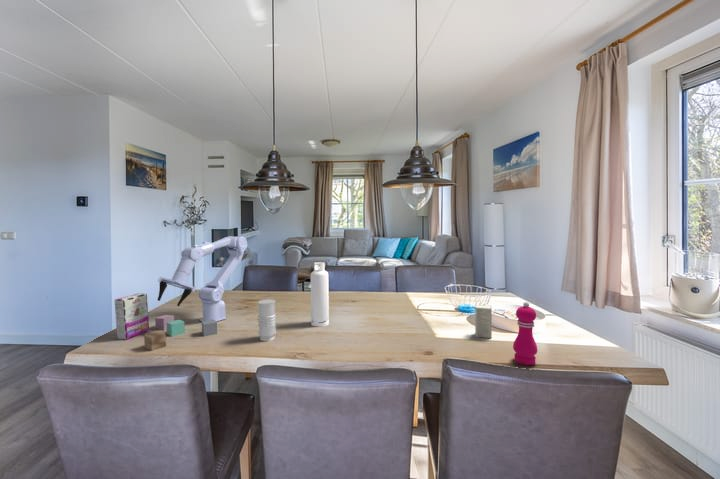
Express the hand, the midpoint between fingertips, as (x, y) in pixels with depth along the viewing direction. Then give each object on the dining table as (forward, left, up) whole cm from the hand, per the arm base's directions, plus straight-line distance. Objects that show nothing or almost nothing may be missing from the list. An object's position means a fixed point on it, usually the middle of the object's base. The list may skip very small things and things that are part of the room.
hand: (168, 303), depth 136 cm
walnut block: (+9, +12, -13) cm, 20 cm away
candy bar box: (+10, -10, -13) cm, 20 cm away
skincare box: (-80, +103, -13) cm, 131 cm away
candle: (-23, +37, -13) cm, 45 cm away
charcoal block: (-11, +13, -13) cm, 21 cm away
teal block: (-2, +2, -13) cm, 13 cm away
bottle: (-49, +40, -13) cm, 64 cm away
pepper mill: (-65, +122, -13) cm, 138 cm away
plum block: (-2, -10, -13) cm, 17 cm away
